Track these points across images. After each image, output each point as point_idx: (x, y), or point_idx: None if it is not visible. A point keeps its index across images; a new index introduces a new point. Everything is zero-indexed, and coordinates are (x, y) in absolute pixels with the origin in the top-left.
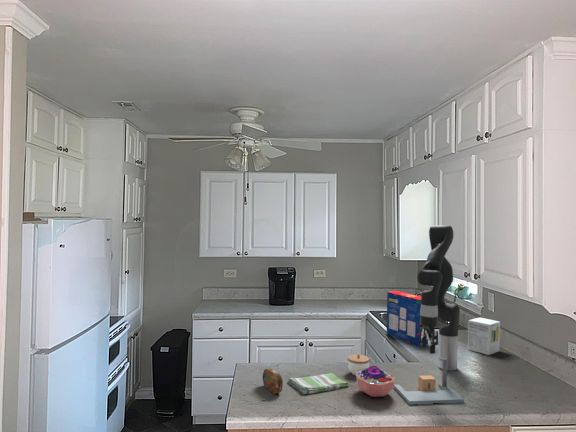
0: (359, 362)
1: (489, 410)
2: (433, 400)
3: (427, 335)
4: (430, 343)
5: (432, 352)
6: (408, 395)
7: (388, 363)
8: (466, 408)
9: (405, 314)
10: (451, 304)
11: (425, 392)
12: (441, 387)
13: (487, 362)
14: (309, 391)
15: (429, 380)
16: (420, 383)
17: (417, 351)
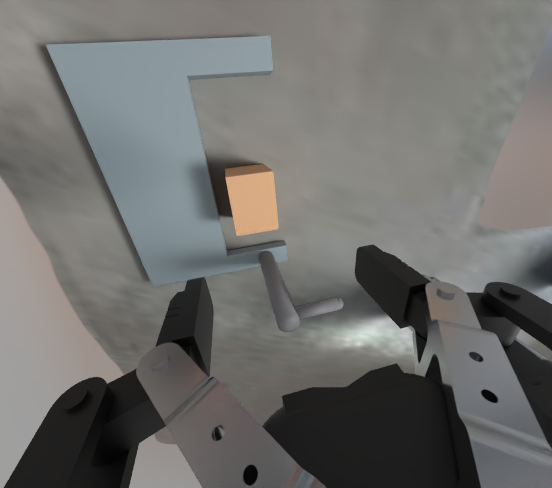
0: None
1: (115, 329)
2: (106, 180)
3: (236, 477)
4: (149, 366)
5: (178, 299)
6: (132, 71)
7: (505, 121)
8: (108, 277)
9: None
10: None
11: (191, 172)
12: (265, 246)
13: (413, 369)
14: None
15: (231, 208)
16: (247, 170)
17: (534, 249)
